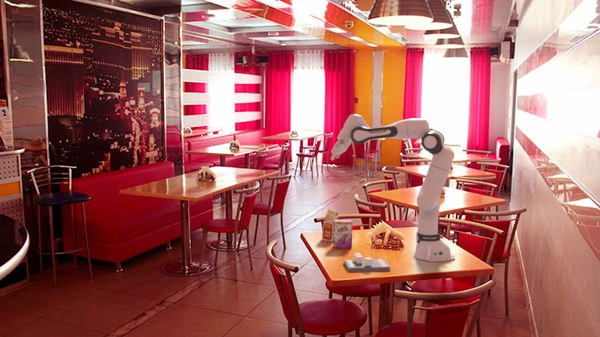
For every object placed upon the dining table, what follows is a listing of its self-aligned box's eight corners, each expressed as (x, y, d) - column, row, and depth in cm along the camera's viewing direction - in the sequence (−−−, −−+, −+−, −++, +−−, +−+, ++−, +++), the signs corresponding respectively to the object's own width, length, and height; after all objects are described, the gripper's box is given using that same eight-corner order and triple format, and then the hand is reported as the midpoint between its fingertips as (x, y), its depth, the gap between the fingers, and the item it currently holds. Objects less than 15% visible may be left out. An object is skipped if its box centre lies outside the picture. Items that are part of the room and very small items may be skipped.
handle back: (359, 259, 288) (359, 253, 288) (360, 260, 286) (360, 254, 285) (354, 259, 288) (354, 253, 287) (355, 261, 285) (355, 254, 285)
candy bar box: (333, 248, 319) (333, 221, 317) (333, 245, 324) (334, 219, 322) (352, 248, 318) (352, 222, 316) (352, 246, 323) (352, 220, 321)
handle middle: (361, 262, 284) (361, 255, 283) (362, 263, 281) (362, 256, 281) (356, 262, 283) (356, 255, 283) (356, 263, 281) (357, 256, 281)
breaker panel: (383, 262, 291) (383, 258, 291) (390, 270, 277) (390, 266, 277) (343, 263, 289) (343, 259, 289) (348, 271, 275) (348, 267, 275)
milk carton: (321, 239, 338) (321, 209, 336) (329, 236, 346) (329, 206, 343) (333, 242, 333) (334, 210, 331) (341, 238, 341) (341, 208, 338)
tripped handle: (370, 264, 280) (370, 257, 279) (371, 265, 277) (371, 259, 277) (365, 264, 279) (365, 257, 279) (366, 265, 277) (366, 259, 277)
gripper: (344, 143, 301) (333, 163, 305) (354, 140, 320) (343, 159, 324) (335, 137, 303) (324, 158, 307) (345, 134, 322) (334, 154, 326)
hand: (334, 158), depth 316 cm, fingers open, 8 cm apart
